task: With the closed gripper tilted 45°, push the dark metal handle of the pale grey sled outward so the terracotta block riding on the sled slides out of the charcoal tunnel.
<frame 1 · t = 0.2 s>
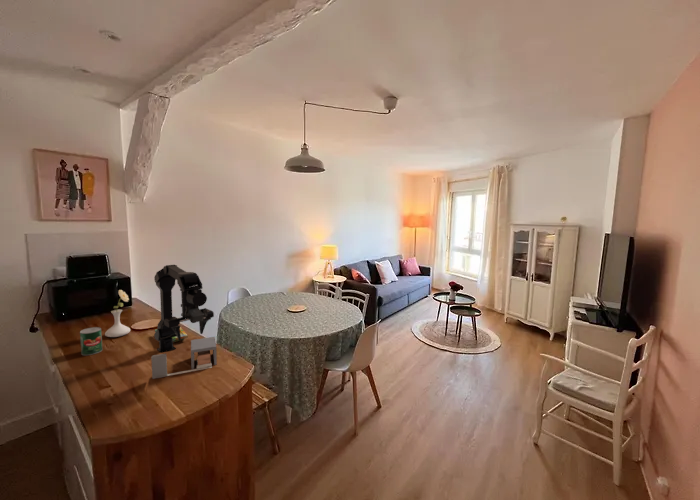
hand: (190, 336, 131), 14 cm above the table, tool pointing down, fingers open, 9 cm apart
sled: (183, 359, 130), point 5 cm above the table, slide at 0.0 cm, touching block
flower in vase: (119, 334, 168), on the table
puzzle game: (171, 339, 164), on the table
tunnel: (204, 363, 137), on the table
canned tomato: (92, 352, 146), on the table
block: (204, 363, 135), point 1 cm above the table, touching sled
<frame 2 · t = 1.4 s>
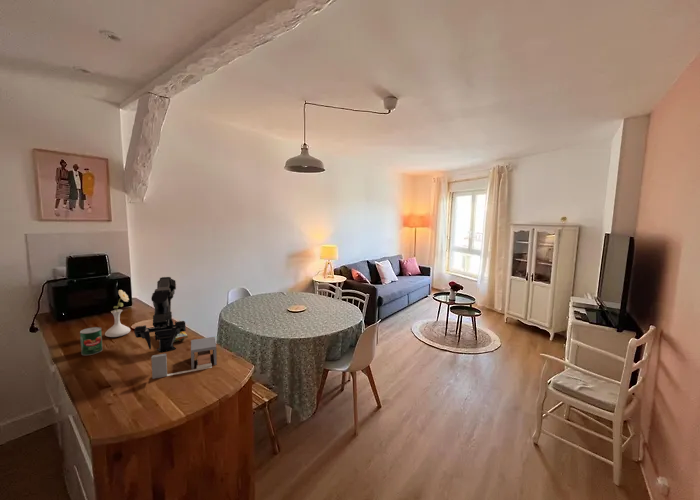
hand: (160, 347, 127), 11 cm above the table, tool tilted 45°, fingers open, 7 cm apart
nothing on the table moved.
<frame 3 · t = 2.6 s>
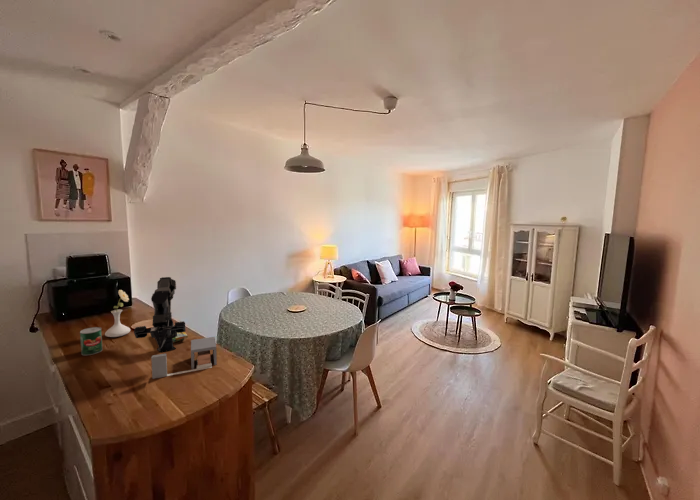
hand: (160, 348, 126), 11 cm above the table, tool tilted 45°, fingers closed
nothing on the table moved.
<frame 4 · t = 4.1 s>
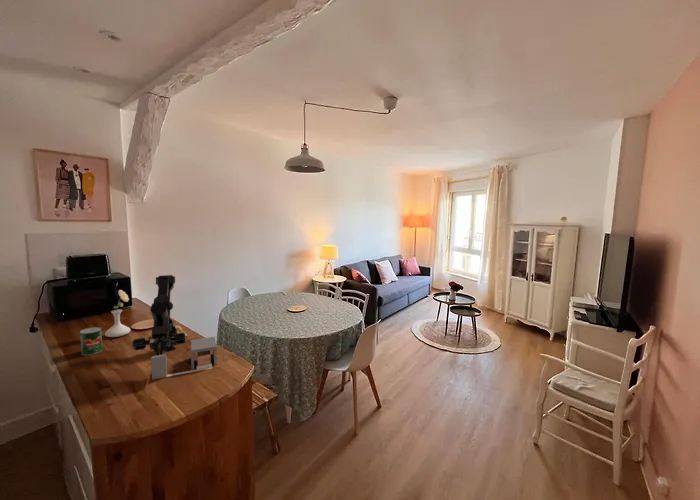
hand: (159, 360, 123), 8 cm above the table, tool tilted 45°, fingers closed, pressing on sled
sled: (183, 360, 129), point 5 cm above the table, slide at 0.7 cm, touching block, gripper
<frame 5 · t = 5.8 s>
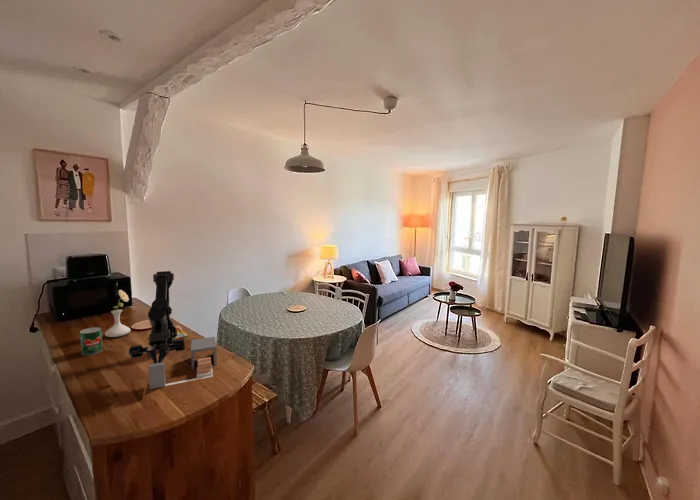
hand: (157, 369, 116), 8 cm above the table, tool tilted 45°, fingers closed
sled: (182, 367, 123), point 5 cm above the table, slide at 8.2 cm, touching block
block: (204, 371, 128), point 1 cm above the table, touching sled
everything else where it was.
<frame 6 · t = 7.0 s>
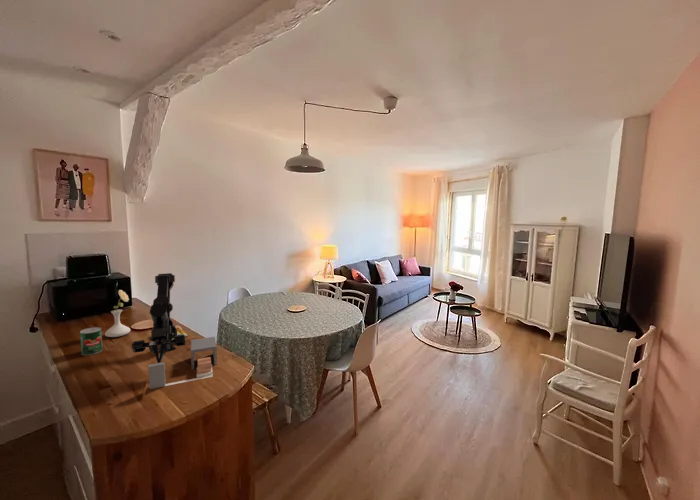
hand: (159, 363, 122), 7 cm above the table, tool tilted 45°, fingers closed
nothing on the table moved.
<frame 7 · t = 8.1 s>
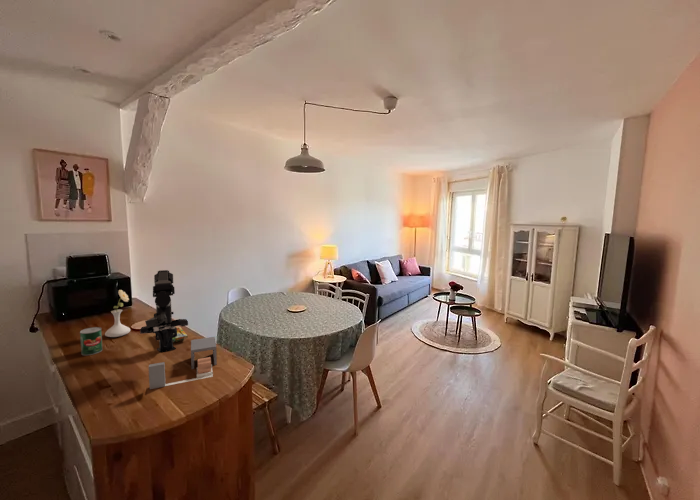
hand: (165, 346, 129), 11 cm above the table, tool tilted 25°, fingers closed
nothing on the table moved.
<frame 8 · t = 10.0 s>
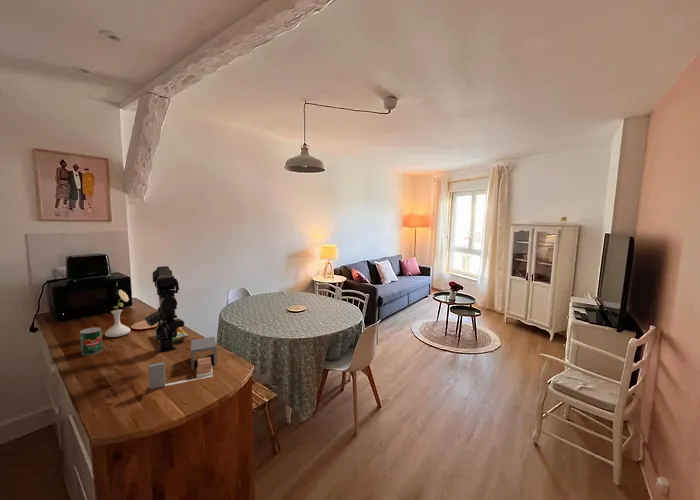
hand: (168, 338, 135), 12 cm above the table, tool pointing down, fingers closed
nothing on the table moved.
at the end: sled slide at 8.2 cm; block 0.4 cm from the target spot on the table beside the tunnel, point 1.2 cm above the table; block tilted 0° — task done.
